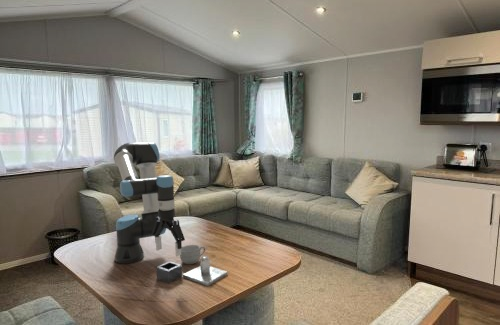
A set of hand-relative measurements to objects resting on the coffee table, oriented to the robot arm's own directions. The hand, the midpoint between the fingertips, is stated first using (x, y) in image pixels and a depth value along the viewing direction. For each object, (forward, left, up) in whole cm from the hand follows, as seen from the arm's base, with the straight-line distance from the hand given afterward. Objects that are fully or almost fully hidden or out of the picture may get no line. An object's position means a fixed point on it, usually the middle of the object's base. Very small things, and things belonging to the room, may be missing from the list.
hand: (168, 252), depth 159 cm
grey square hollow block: (0, 0, -13) cm, 13 cm away
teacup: (-4, +20, -13) cm, 24 cm away
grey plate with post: (+13, +11, -13) cm, 21 cm away
